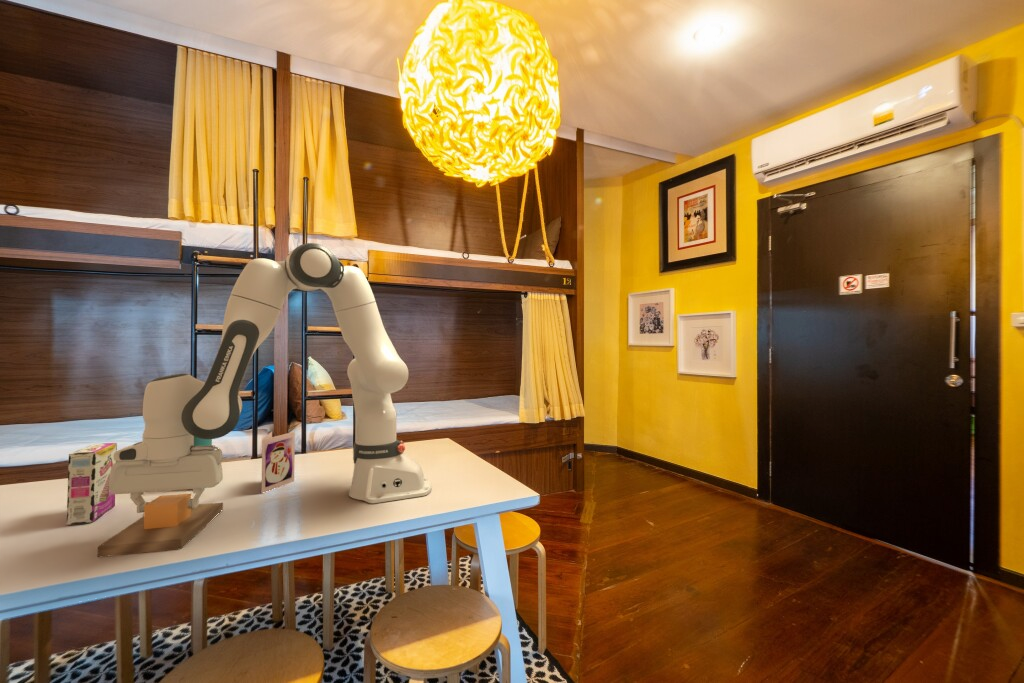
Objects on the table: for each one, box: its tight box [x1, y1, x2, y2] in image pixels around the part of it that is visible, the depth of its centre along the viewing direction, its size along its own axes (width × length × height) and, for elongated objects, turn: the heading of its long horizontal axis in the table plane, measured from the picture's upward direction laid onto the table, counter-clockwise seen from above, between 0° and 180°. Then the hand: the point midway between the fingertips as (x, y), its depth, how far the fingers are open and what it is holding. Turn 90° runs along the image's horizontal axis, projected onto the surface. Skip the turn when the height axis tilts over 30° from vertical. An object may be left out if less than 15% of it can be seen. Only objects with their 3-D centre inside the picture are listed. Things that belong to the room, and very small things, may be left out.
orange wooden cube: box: [143, 493, 192, 529], centre depth 93 cm, size 6×6×5 cm
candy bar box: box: [66, 442, 118, 526], centre depth 101 cm, size 11×5×16 cm, turn 23°
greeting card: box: [261, 431, 296, 494], centre depth 122 cm, size 11×7×15 cm, turn 163°
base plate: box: [96, 502, 224, 558], centre depth 93 cm, size 14×20×2 cm
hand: (168, 509), depth 93 cm, fingers open, 8 cm apart
